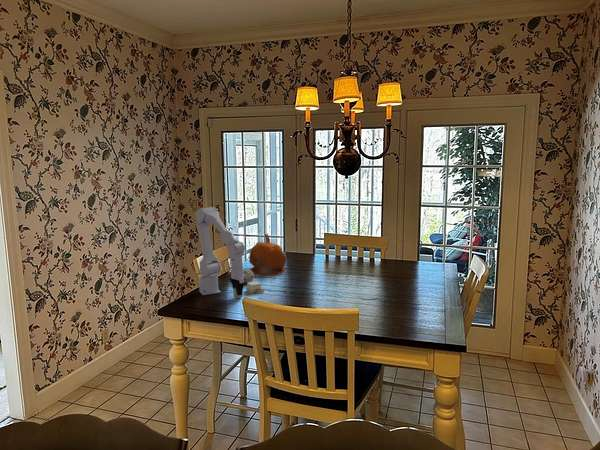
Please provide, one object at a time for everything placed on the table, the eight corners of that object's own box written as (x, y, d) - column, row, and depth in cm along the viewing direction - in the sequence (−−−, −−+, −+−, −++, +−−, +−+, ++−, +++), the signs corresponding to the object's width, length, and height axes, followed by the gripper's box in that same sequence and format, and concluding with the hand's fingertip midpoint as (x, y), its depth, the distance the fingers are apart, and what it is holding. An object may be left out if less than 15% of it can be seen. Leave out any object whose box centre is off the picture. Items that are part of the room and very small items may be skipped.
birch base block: (250, 295, 226) (250, 290, 225) (246, 291, 232) (246, 287, 232) (263, 293, 229) (263, 288, 228) (258, 289, 235) (258, 285, 235)
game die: (251, 288, 247) (261, 274, 248) (245, 287, 239) (256, 272, 240) (239, 279, 250) (249, 265, 251) (233, 278, 242) (243, 263, 243)
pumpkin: (267, 263, 288) (266, 229, 285) (295, 270, 271) (294, 233, 268) (240, 270, 272) (239, 234, 269) (268, 278, 255) (267, 239, 252)
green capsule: (235, 298, 217) (234, 290, 216) (232, 296, 220) (232, 288, 220) (243, 297, 218) (243, 289, 218) (240, 294, 222) (240, 286, 222)
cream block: (250, 289, 226) (250, 285, 226) (247, 287, 232) (247, 282, 231) (260, 288, 229) (260, 283, 228) (257, 285, 234) (257, 281, 233)
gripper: (249, 269, 212) (250, 296, 214) (240, 262, 225) (241, 288, 227) (235, 271, 209) (236, 298, 211) (226, 264, 222) (227, 290, 224)
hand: (237, 293), depth 219 cm, fingers closed on green capsule, 4 cm apart
